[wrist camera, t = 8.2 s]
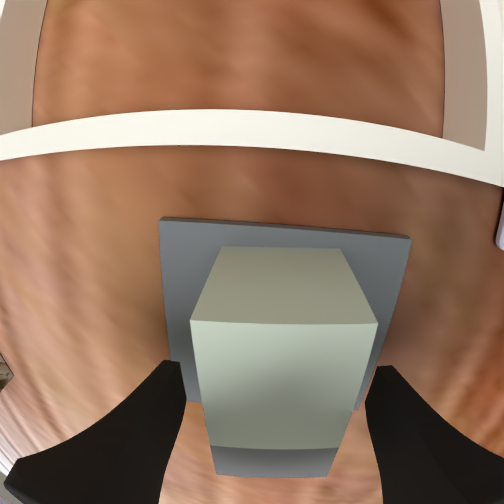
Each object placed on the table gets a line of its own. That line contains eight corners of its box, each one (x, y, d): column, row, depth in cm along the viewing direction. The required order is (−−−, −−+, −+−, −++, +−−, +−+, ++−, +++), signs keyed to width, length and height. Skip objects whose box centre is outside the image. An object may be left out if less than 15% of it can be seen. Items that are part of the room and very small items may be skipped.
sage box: (340, 248, 11) (378, 323, 7) (317, 394, 14) (326, 476, 10) (221, 245, 12) (189, 320, 7) (229, 392, 15) (216, 474, 10)
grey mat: (407, 235, 12) (412, 239, 11) (355, 403, 15) (357, 409, 15) (162, 216, 12) (158, 220, 12) (178, 392, 16) (176, 399, 15)
